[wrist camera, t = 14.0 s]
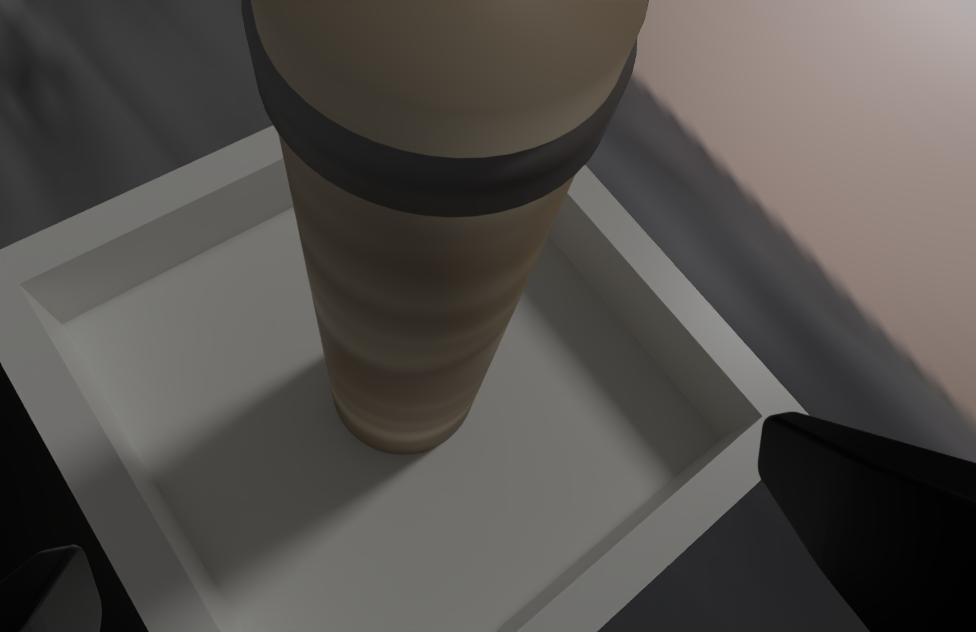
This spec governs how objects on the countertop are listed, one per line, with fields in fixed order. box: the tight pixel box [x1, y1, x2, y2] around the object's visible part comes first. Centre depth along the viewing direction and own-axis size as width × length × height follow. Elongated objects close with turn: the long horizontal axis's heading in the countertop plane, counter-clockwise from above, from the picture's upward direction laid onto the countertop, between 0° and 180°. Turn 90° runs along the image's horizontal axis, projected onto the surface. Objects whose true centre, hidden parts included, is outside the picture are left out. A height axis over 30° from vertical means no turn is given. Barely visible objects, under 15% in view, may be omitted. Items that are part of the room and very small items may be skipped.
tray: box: [0, 125, 808, 632], centre depth 17 cm, size 14×14×3 cm
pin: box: [242, 0, 649, 455], centre depth 12 cm, size 4×4×12 cm
